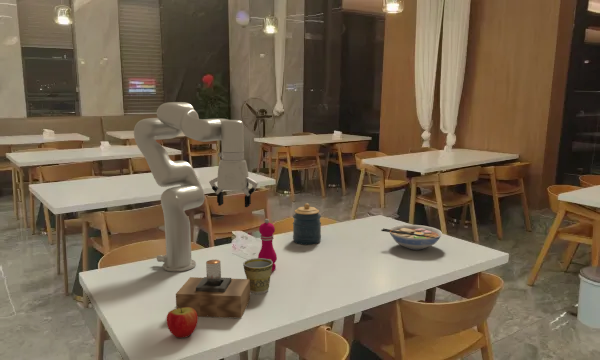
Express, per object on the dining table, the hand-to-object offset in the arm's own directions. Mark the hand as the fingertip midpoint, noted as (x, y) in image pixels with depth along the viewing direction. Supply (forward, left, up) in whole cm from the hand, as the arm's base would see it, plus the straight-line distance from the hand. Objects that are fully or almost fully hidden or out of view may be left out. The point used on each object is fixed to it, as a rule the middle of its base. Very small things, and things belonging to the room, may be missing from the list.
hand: (233, 205), depth 171 cm
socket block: (-2, -20, -29) cm, 35 cm away
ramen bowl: (+69, +49, -29) cm, 89 cm away
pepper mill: (+9, +16, -29) cm, 34 cm away
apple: (-6, -39, -29) cm, 49 cm away
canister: (+21, +55, -29) cm, 66 cm away
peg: (-2, -20, -22) cm, 30 cm away
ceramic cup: (+10, -4, -29) cm, 31 cm away
